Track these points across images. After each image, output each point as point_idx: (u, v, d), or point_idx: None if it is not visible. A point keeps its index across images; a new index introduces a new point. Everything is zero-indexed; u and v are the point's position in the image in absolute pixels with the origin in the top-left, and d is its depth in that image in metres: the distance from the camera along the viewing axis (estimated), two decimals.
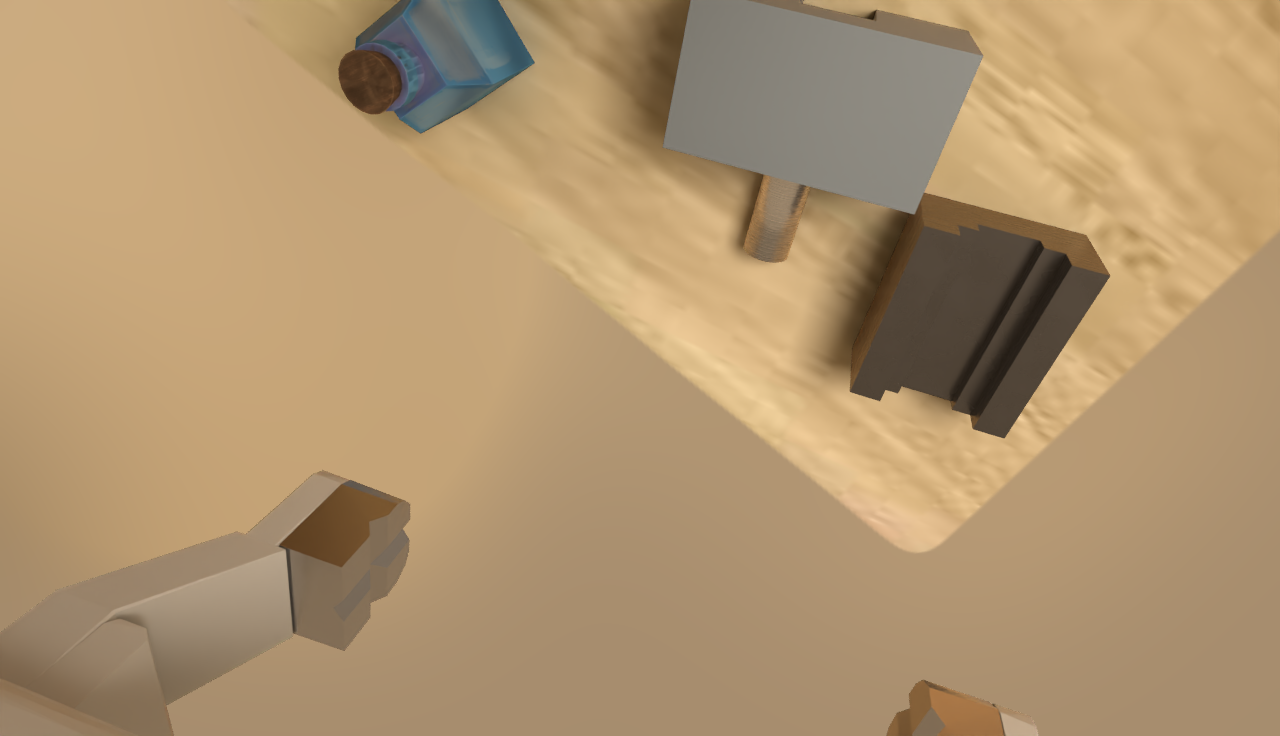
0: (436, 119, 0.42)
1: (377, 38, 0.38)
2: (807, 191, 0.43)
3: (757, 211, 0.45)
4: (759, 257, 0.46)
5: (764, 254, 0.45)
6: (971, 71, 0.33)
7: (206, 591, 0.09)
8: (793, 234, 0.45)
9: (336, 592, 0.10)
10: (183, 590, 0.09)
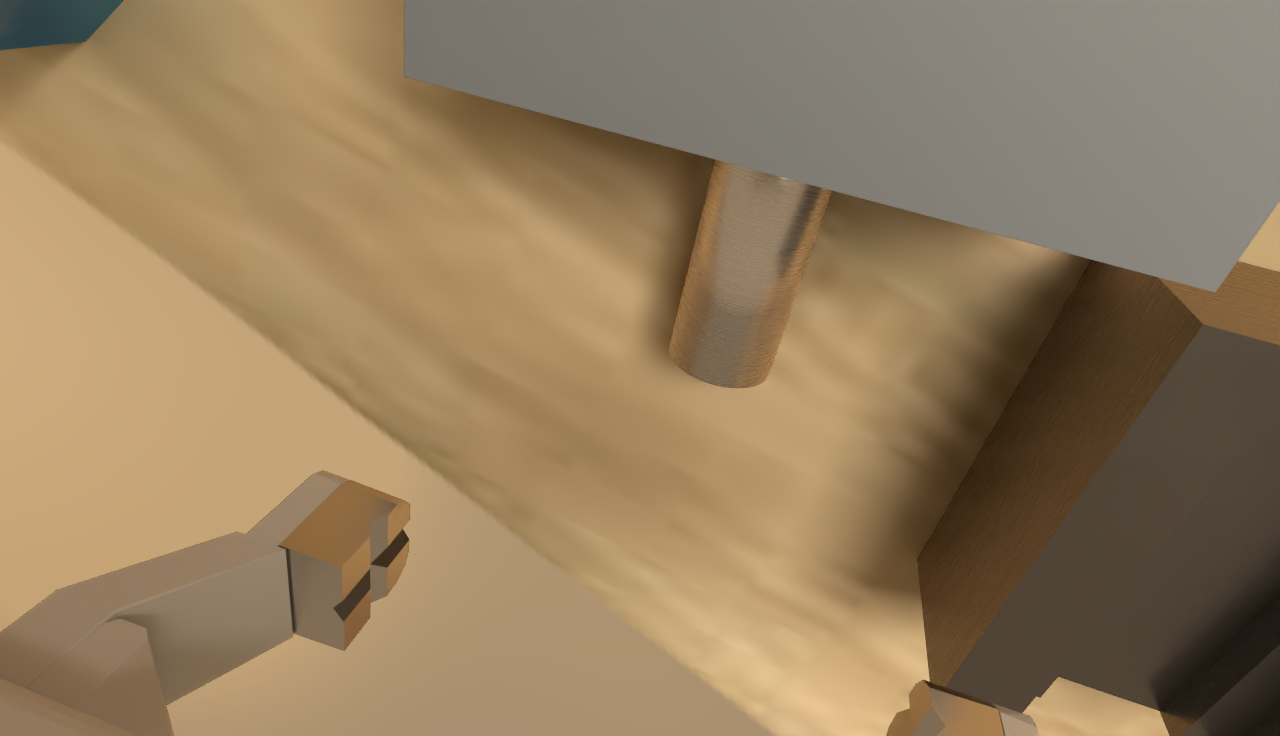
0: None
1: None
2: (811, 222, 0.17)
3: (692, 262, 0.19)
4: (691, 369, 0.19)
5: (702, 365, 0.19)
6: None
7: (206, 591, 0.09)
8: (776, 327, 0.19)
9: (336, 591, 0.10)
10: (183, 590, 0.09)
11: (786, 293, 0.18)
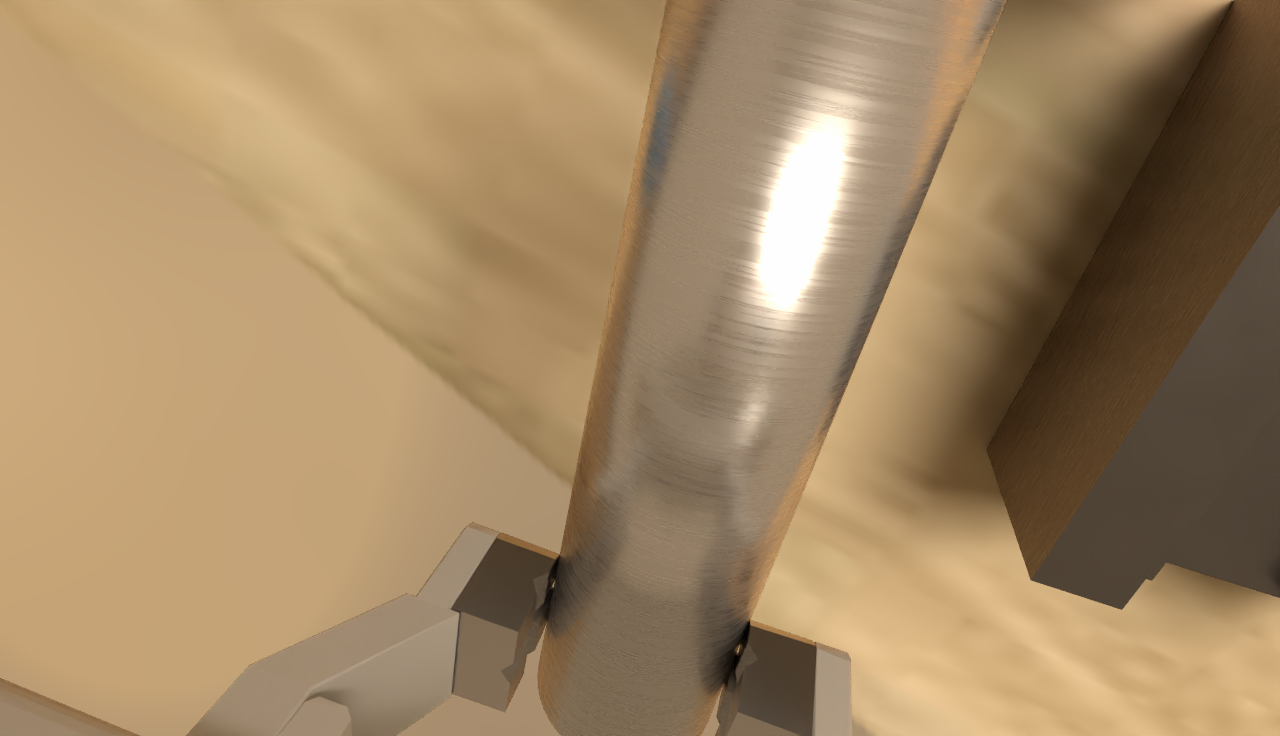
0: None
1: None
2: (784, 521, 0.09)
3: (564, 566, 0.10)
4: None
5: None
6: None
7: (388, 660, 0.09)
8: (725, 667, 0.10)
9: (507, 655, 0.09)
10: (370, 662, 0.08)
11: (741, 623, 0.10)
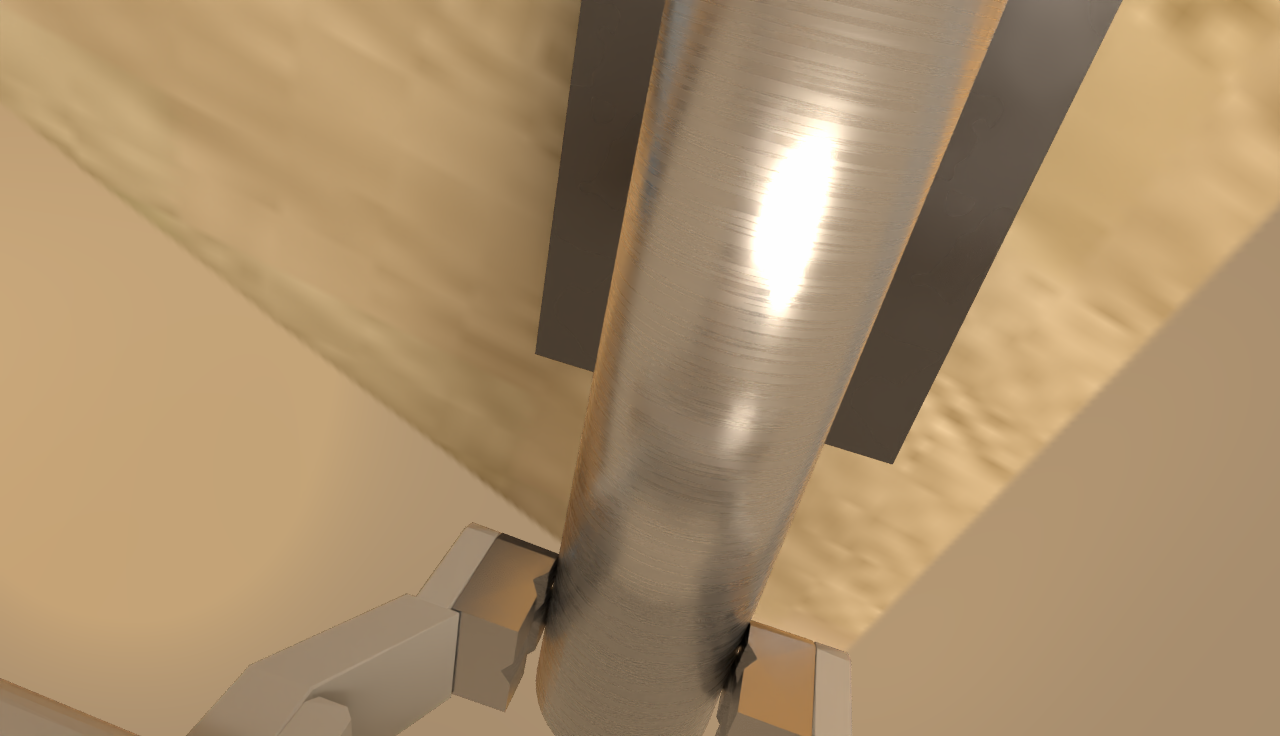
0: None
1: None
2: (783, 526, 0.09)
3: (562, 571, 0.10)
4: None
5: None
6: None
7: (388, 660, 0.09)
8: (724, 672, 0.10)
9: (507, 654, 0.09)
10: (370, 661, 0.08)
11: (739, 629, 0.10)
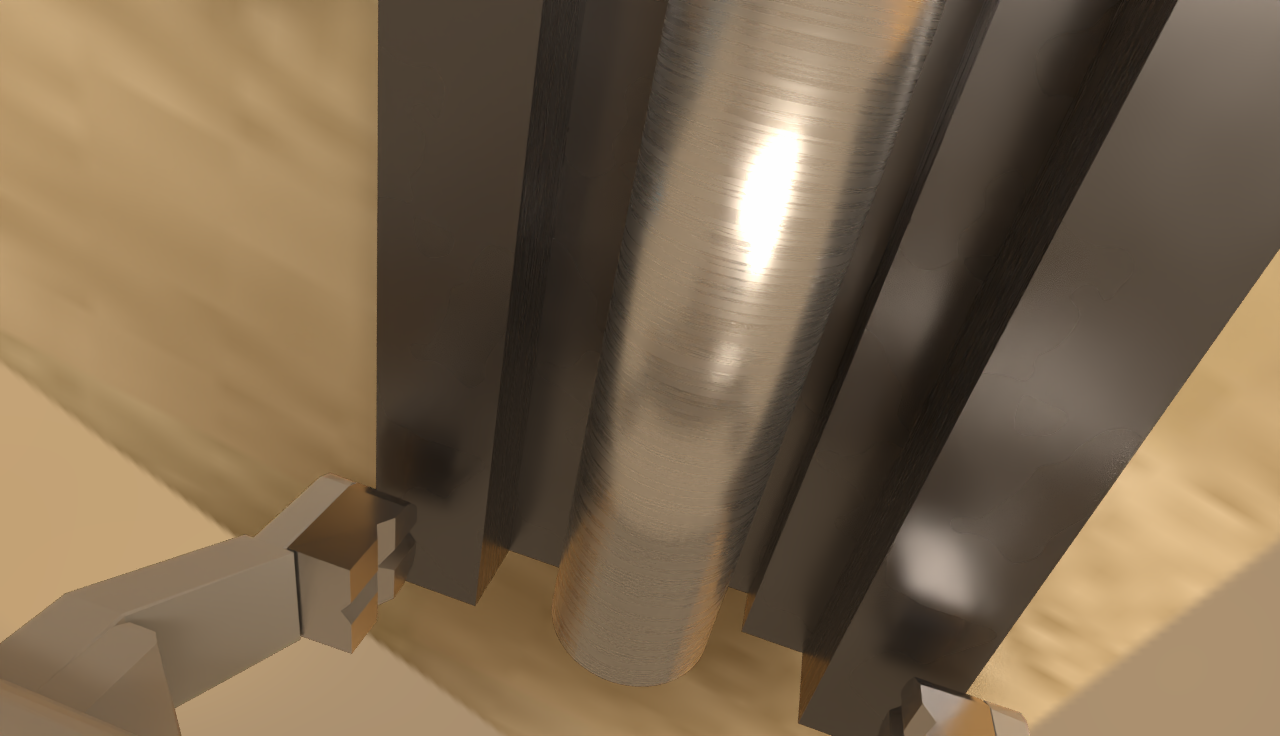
0: None
1: None
2: (758, 463, 0.10)
3: None
4: (576, 654, 0.12)
5: (592, 653, 0.12)
6: None
7: (214, 594, 0.09)
8: (709, 602, 0.11)
9: (344, 595, 0.10)
10: (191, 593, 0.09)
11: (722, 559, 0.11)
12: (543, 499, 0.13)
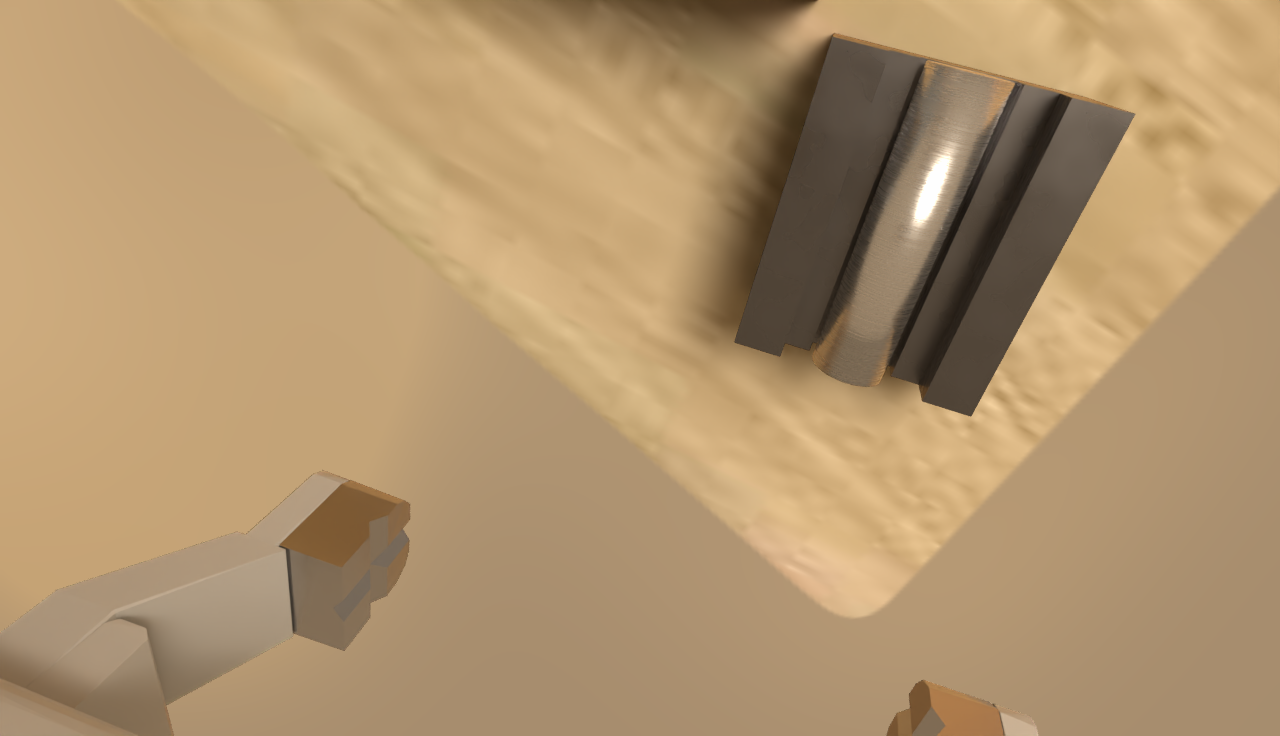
0: None
1: None
2: (924, 278, 0.27)
3: (839, 303, 0.28)
4: (836, 374, 0.29)
5: (844, 371, 0.29)
6: None
7: (206, 591, 0.09)
8: (894, 345, 0.28)
9: (335, 592, 0.10)
10: (182, 590, 0.09)
11: (903, 323, 0.28)
12: (806, 314, 0.30)
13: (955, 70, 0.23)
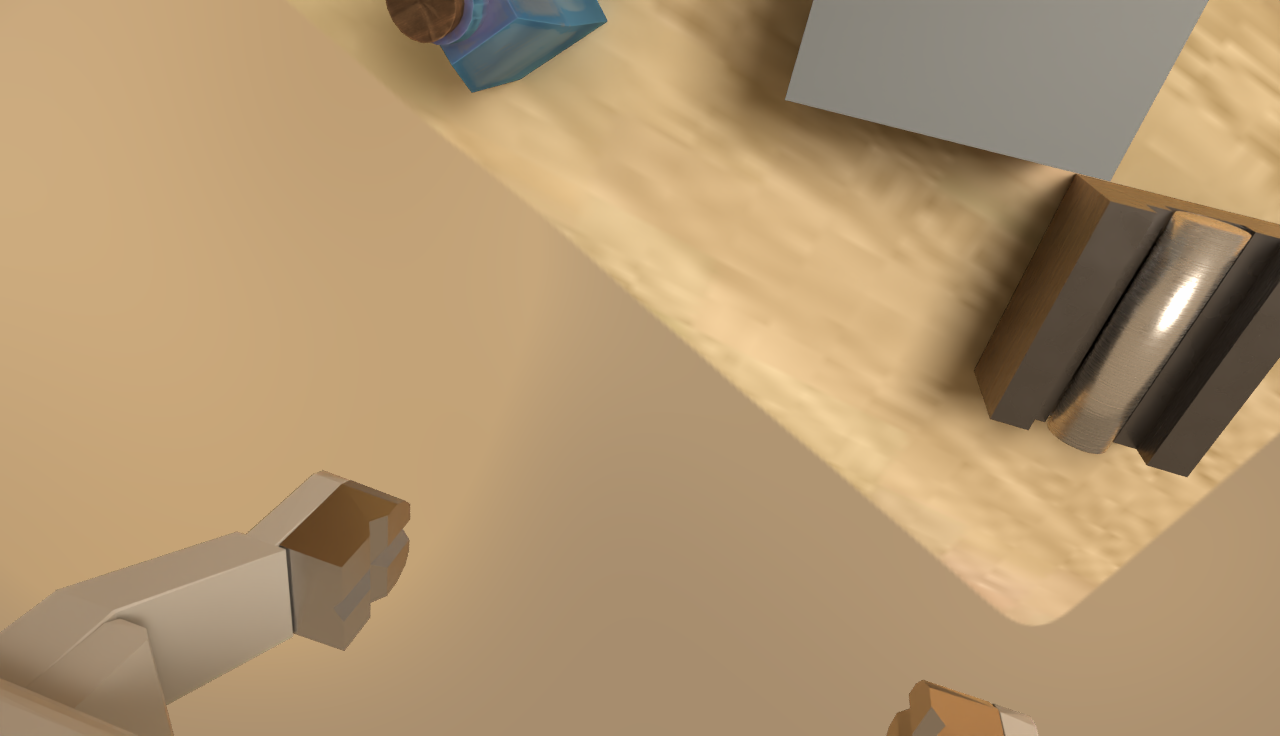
0: (493, 72, 0.34)
1: None
2: (1157, 374, 0.34)
3: (1080, 389, 0.36)
4: (1073, 444, 0.36)
5: (1082, 442, 0.36)
6: None
7: (206, 591, 0.09)
8: (1124, 422, 0.36)
9: (336, 591, 0.10)
10: (183, 590, 0.09)
11: (1135, 406, 0.35)
12: None
13: (1206, 228, 0.30)
